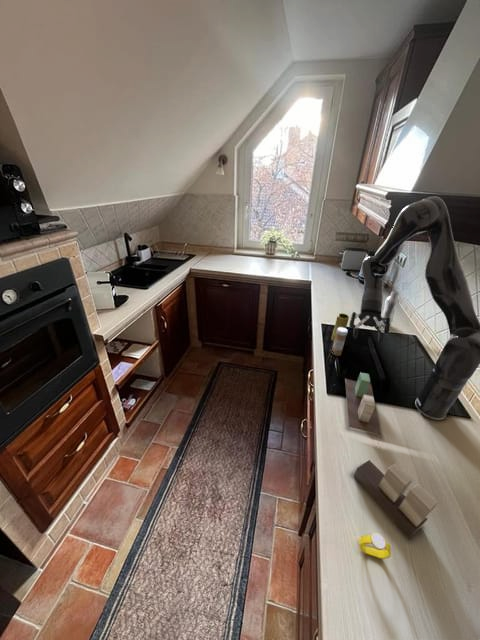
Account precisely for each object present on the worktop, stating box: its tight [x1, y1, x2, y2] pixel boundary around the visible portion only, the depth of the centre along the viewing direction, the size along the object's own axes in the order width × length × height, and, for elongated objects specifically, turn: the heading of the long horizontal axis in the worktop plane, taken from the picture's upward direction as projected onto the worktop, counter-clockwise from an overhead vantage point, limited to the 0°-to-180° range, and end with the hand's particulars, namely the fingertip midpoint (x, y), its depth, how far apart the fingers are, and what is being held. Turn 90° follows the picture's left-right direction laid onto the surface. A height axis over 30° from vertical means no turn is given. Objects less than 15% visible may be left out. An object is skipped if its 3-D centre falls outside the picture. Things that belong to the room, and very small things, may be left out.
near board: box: [344, 378, 382, 436], centre depth 91 cm, size 24×10×9 cm, turn 163°
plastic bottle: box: [379, 290, 401, 326], centre depth 140 cm, size 6×7×20 cm
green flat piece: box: [355, 371, 371, 397], centre depth 96 cm, size 3×4×8 cm
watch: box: [358, 532, 392, 560], centre depth 55 cm, size 6×3×6 cm, turn 72°
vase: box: [330, 313, 350, 343], centre depth 127 cm, size 6×6×14 cm
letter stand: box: [353, 459, 439, 539], centre depth 63 cm, size 5×16×12 cm, turn 28°
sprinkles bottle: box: [331, 327, 349, 357], centre depth 117 cm, size 5×5×13 cm
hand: (367, 340), depth 99 cm, fingers open, 8 cm apart
